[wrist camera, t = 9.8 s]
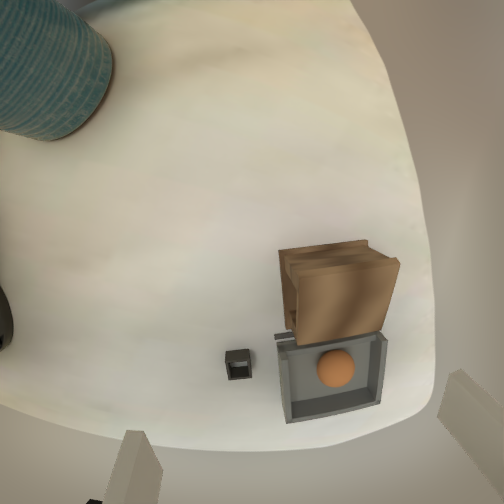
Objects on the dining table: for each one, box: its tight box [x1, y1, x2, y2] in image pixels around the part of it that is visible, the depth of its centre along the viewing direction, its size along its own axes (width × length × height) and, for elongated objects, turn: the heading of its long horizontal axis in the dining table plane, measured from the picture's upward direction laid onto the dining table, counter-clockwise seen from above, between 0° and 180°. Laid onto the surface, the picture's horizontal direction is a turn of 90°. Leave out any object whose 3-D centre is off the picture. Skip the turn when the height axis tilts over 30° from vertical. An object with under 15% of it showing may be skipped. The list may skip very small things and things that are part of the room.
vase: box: [0, 0, 112, 141], centre depth 17 cm, size 16×16×27 cm
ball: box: [317, 350, 355, 387], centre depth 36 cm, size 5×5×5 cm
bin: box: [277, 330, 388, 424], centre depth 38 cm, size 14×11×4 cm
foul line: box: [274, 332, 294, 340], centre depth 38 cm, size 14×1×1 cm, turn 97°
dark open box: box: [225, 349, 252, 380], centre depth 38 cm, size 3×3×2 cm
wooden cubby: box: [278, 240, 400, 346], centre depth 32 cm, size 11×10×10 cm
